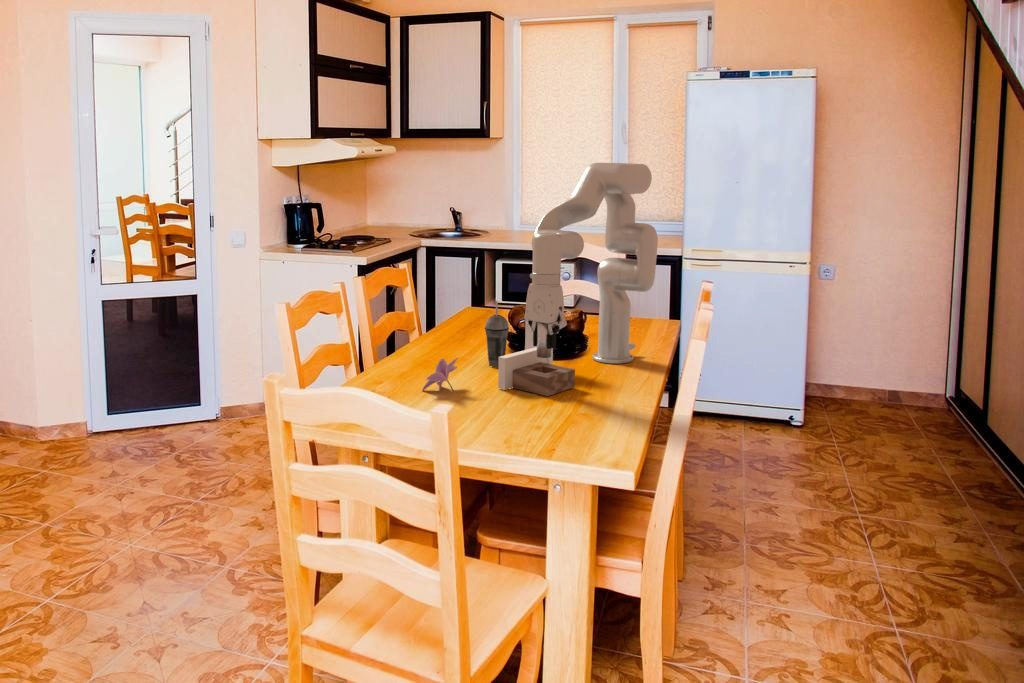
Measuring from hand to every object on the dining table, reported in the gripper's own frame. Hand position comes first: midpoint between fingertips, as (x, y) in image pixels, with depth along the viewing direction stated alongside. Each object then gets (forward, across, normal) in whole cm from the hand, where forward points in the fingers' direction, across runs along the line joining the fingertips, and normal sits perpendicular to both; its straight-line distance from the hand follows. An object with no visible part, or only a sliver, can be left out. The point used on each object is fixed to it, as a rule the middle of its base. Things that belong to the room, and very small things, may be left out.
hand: (544, 346), depth 241 cm
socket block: (+12, 0, 0) cm, 12 cm away
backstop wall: (+12, -8, 0) cm, 14 cm away
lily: (+12, -19, -20) cm, 30 cm away
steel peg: (+3, 0, 0) cm, 3 cm away
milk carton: (+12, -13, +14) cm, 23 cm away
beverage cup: (+12, -26, +10) cm, 30 cm away
